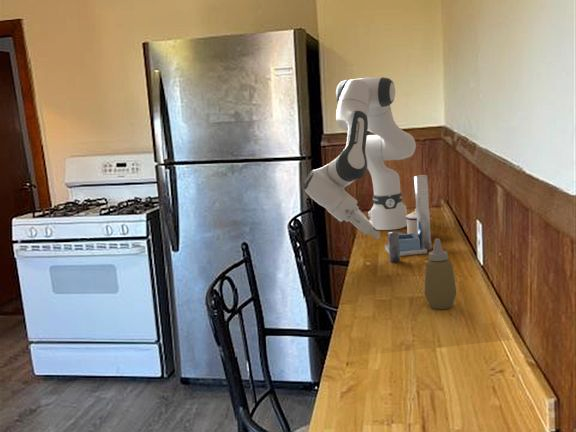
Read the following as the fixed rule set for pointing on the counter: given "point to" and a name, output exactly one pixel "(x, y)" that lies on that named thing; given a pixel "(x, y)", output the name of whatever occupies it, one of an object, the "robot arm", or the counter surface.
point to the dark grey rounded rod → (394, 246)
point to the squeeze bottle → (439, 279)
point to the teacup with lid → (412, 223)
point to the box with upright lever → (412, 242)
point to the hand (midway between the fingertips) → (376, 234)
